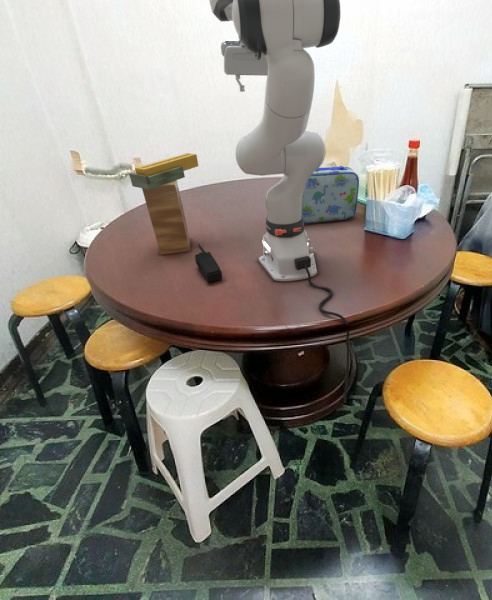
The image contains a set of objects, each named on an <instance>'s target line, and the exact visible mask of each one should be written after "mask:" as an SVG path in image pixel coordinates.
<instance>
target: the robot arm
mask: <svg viewBox="0 0 492 600" xmlns="http://www.w3.org/2000/svg"><path fill="white" fill-rule="evenodd" d="M208 2H209V6H210V9H211V12H212V14H213V15H214V17H216V19H217V20H219V21H220V22H232V23H233V26H234V29H235V32H236V34H237V36H238V39H225V40H224V41H222V42H221V44H220V51H221V55H222V57H223V72H224V74H225V75H226V76H235V80H236V82H237V84H238V86H239V92H241V93H242V92H245V85H244V84H242V82H241V81H240V80H241V76H262V77H263V76H264V77H265V76H266V81H265V89H264V104H263V111H262V117H261V119H260V121H259V123H258V124H257V125H256V126H255V128H253V130H252V131H250V132H249V133H248V134H246V135H244V136H243V137H240V139H239V140H238V142H237V144H236V147H235V155H234V156H235V161H236V164H237V166H238V167H239V170H241V171H242V172H243V173H244V174H246V175H251V176H260V177H261V176H263V177H264V176H272V175H274V176H275V175H282V178H281V179H280V180H279V182H277V183H276V184H274V185H273V186H271V187H270V188H269V189H268V191H267V192H266V194H265V208H266V211H265V212H266V218H265V227H266V232H265V233H264V235H263V236H262V251H263V255H261V256H259V257H258V262H259V263H260V265H261V266H262V267H263V269H265V271H266V272H267V274H269V276H270V277H271V278H272V279H273V281H275V282H295V281H301V280H305V279H308V280H307V281H308V283H309V285H310V286H311V287H312V288H315V289H319V290H324V291H328V293H329V294H328V295H327V296H326V298H324V299H323V300H321V301H320V302H319V304H318V309H319V311H320V312H321V313H323V314H326V315H330V316H335V317H337V318H339V319H341V320H342V321H343V323H344V324H345V325H346V326H347V325H349V323H348V321H347V319H346V318H345V317H344V316H343V315H341V314H339V313H337V312H333V311H328V310H325V309H323V307H322V306H323V304H324V303H326V302H327V301H329V299H331V297H332V296H333V290H332V289H331V288H329V287H326V286H325V287H324V286H318V285H316V284H314V283H313V282H312V277H314V276H316V275H318V270H317V265H316V259H315V254H314V253H315V251H314V246H309V244H310V243H311V238H309V237H308V236H307V235H308V234H307V233H308V232H307V230H305V223H304V221H303V216H302V196H303V191H304V187H305V185H306V183H307V181H308V179H309V178H310V176H311V175H312V174H313V172H314V171H315V170H317V169H318V168H321V166H322V164H323V163H324V161H325V158H326V153H327V151H326V149H327V148H326V144H325V141H324V139H323V138H322V136H321V135H320V134H319V133H318V132H316V131H315V132H314V131H308V130H307V127H308V123H309V118H310V113H311V109H312V104H313V99H314V94H315V79H316V77H315V76H316V75H315V74H316V73H315V70H316V69H315V63H314V60H313V58H312V57H311V55H310V53H309V52H308V51H307V50H306V49H309V48H314V47H315V48H317V49H318V48H322V47H326V46H329V45H330V44H332V43H333V42H334V41H335V39H336V37H337V35H338V33H339V29H340V22H341V2H340V0H208ZM345 334H346V336H345V338H346V339H345V341H346V342H345V343H346V344H345V345H346V366H345V367H346V369H345V370H346V371H345V381H344V393H343V403H344V404H346V403H347V395H348V383H349V375H350V373H349V372H350V330H346V333H345Z"/></svg>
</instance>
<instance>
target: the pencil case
mask: <svg viewBox="0 0 492 600" xmlns="http://www.w3.org/2000/svg"><path fill="white" fill-rule="evenodd" d="M180 166H182V167H183V171H184V172H185V171H188V170H191V169H194V168H196V167H199V161H198V156H197V154H196V153H190V152H186V153H183V154H178V155H175V156H171V157H168V158H165V159H161V160H158V161H157V160H156V161H154V162H151V163H147V164H143V165H140V166H137V167H134V170H135V173H136V174H141V175H146V176H151V175H154V174H158V173H161V172H164V171H167V170H170V169H174V168H177V167H180Z"/></svg>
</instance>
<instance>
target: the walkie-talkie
mask: <svg viewBox="0 0 492 600" xmlns="http://www.w3.org/2000/svg"><path fill="white" fill-rule="evenodd" d="M197 246H198V248H199V249H200V252H198V253H197V254H196V253H195V255H194V260H195V263H196V266H197V267H198V269H199V270H200V272H201V274H202V276H203V277H204V278H205V280H206V281H207V282H208V283H211V282H214V281H218V280H222V279H223V273H222V270H221V268H220V266H219V264H218V262H217V261H216V259H215V258H214V256H213V254H212V253H211V252H210V251H205V249H204V247H202V245H201V244H200V243H198V244H197Z"/></svg>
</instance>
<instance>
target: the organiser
mask: <svg viewBox="0 0 492 600" xmlns="http://www.w3.org/2000/svg"><path fill="white" fill-rule="evenodd" d="M128 175H129V179H130V182H131V186H132V187H133V188H140V189H141V190H142V194H143V197H144V201H145V205H146V207H147V211H148V214H149V219H150V223H151V225H152V229H153V232H154V237H155V240H156V243H157V247H158V250H159V255H160V256H161V255H169V254H177V253H186V252H190V251H191V238H190V233H189V229H188V225H187V220H186V216H185V210H184V206H183V201H182V196H181V193H180V188H179V184H178V180H181V179H184V178H186V175H185V171H183V167H182V166H180V167H177V168H174V169H170V170H167V171H164V172H161V173H158V174H154V175H151V176H146V175H141V174H136V172H129V173H128Z"/></svg>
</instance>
